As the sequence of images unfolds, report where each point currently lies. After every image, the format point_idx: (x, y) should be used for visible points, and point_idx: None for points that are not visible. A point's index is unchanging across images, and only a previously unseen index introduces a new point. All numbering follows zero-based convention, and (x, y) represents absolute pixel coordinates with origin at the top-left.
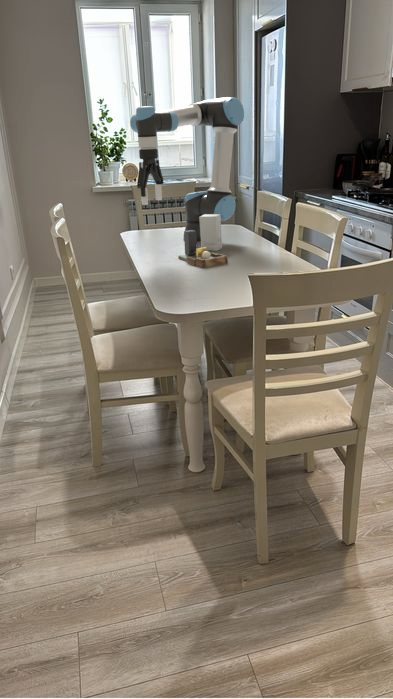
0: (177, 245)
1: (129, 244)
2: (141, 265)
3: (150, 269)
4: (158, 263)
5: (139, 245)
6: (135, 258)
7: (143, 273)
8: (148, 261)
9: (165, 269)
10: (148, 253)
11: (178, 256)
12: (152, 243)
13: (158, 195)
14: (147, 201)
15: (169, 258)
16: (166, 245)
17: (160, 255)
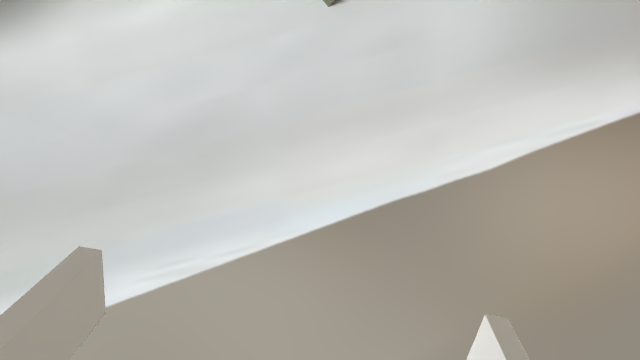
0: (27, 94)
1: None
2: (469, 161)
3: (557, 97)
4: (435, 90)
5: None
6: (331, 223)
7: (632, 109)
8: (390, 150)
9: (571, 16)
10: (228, 193)
11: (329, 5)
12: (22, 228)
13: (67, 324)
14: (519, 348)
15: (326, 60)
16: (43, 152)
17: (263, 125)
